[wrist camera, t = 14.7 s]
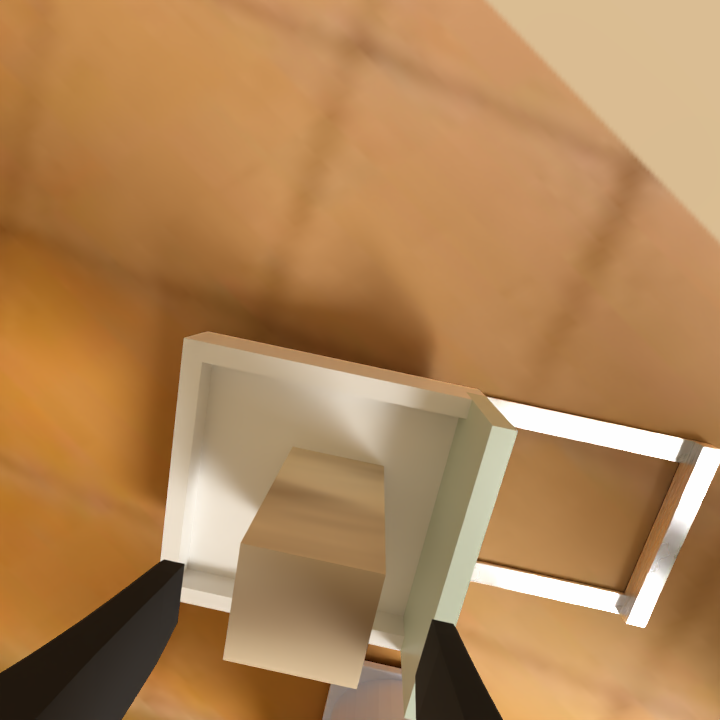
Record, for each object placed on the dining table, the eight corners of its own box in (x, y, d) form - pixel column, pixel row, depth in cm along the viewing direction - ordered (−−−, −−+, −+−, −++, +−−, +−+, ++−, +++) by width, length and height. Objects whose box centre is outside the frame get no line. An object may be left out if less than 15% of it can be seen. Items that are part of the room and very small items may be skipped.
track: (634, 614, 20) (644, 627, 20) (178, 513, 21) (170, 522, 20) (709, 443, 18) (724, 451, 17) (198, 334, 19) (190, 336, 18)
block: (365, 545, 17) (356, 689, 11) (278, 527, 17) (222, 660, 11) (383, 465, 16) (385, 574, 10) (292, 446, 16) (240, 542, 10)
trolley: (410, 583, 20) (424, 722, 14) (199, 536, 20) (115, 653, 14) (468, 377, 18) (517, 431, 11) (226, 325, 18) (140, 350, 11)
